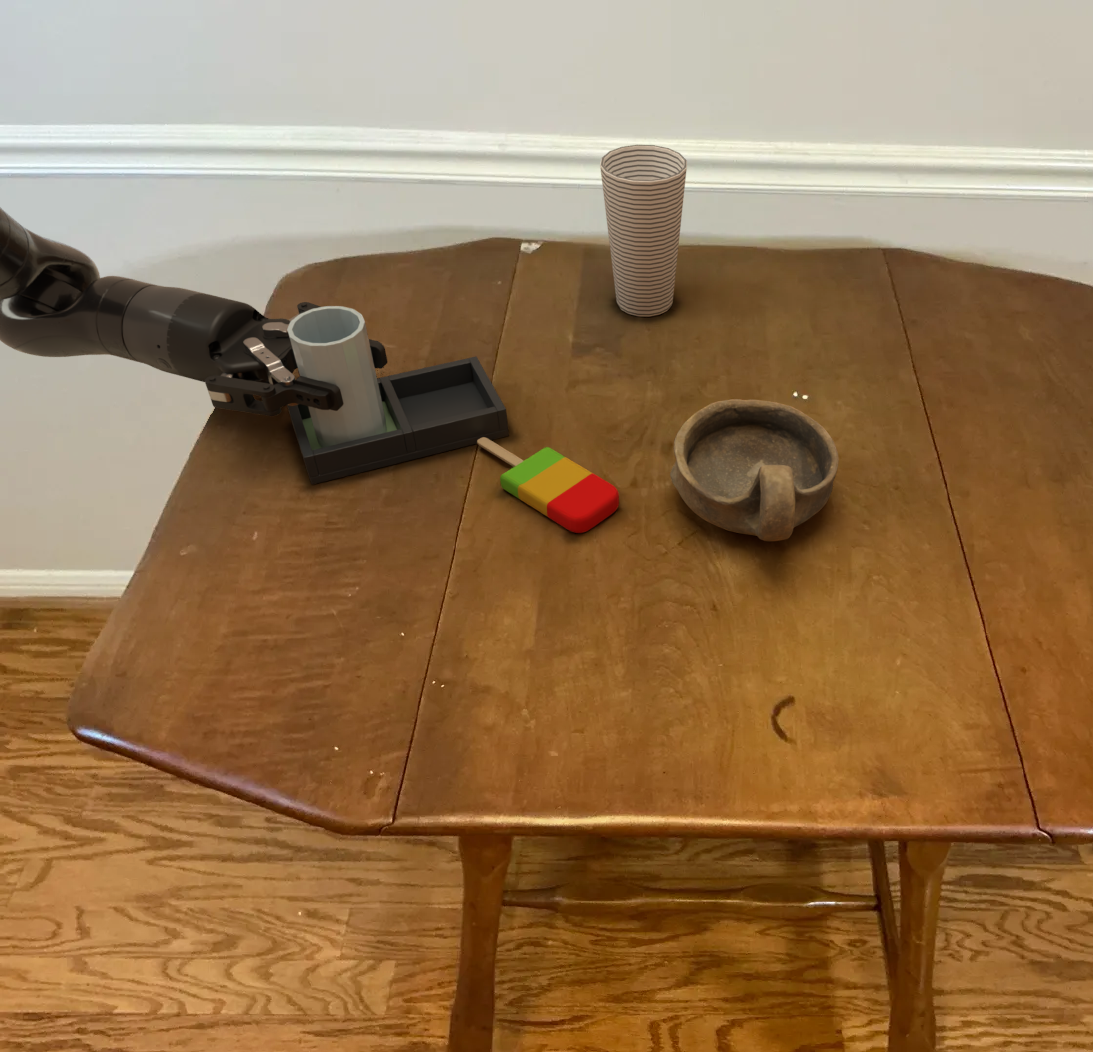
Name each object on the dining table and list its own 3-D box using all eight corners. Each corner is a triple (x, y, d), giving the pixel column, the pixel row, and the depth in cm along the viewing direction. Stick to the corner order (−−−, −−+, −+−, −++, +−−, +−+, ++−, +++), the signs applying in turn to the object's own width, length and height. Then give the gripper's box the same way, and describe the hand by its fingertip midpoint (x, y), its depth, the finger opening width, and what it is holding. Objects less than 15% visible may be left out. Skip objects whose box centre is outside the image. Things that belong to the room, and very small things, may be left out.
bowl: (816, 448, 97) (828, 354, 90) (855, 587, 84) (872, 490, 77) (664, 453, 95) (665, 359, 89) (679, 595, 83) (681, 497, 76)
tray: (311, 485, 91) (303, 457, 89) (292, 425, 97) (285, 398, 95) (509, 436, 97) (506, 408, 95) (480, 382, 103) (476, 356, 101)
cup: (616, 278, 118) (612, 140, 108) (691, 288, 117) (695, 149, 106) (595, 318, 112) (589, 175, 101) (675, 328, 111) (677, 185, 100)
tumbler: (323, 460, 92) (294, 352, 84) (310, 421, 96) (281, 314, 88) (393, 443, 94) (371, 336, 86) (378, 406, 98) (355, 300, 90)
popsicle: (579, 540, 87) (578, 523, 86) (456, 462, 94) (454, 445, 92) (625, 506, 90) (625, 489, 89) (504, 433, 97) (502, 416, 96)
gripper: (122, 340, 86) (301, 386, 82) (237, 259, 96) (401, 296, 92) (152, 416, 91) (321, 462, 87) (258, 331, 101) (414, 369, 97)
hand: (361, 377), depth 90 cm, fingers closed on tumbler, 6 cm apart
